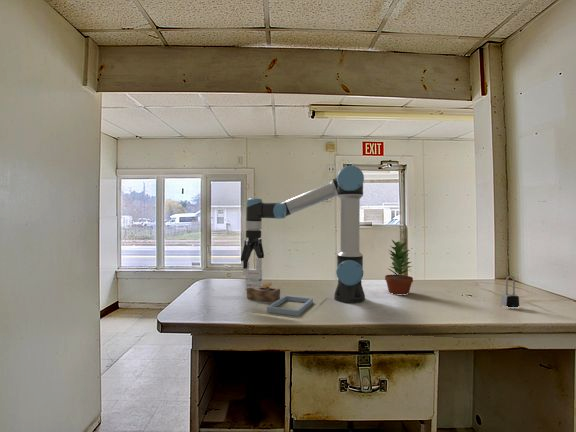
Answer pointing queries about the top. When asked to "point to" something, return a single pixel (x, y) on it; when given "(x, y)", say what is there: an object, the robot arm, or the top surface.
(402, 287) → the potted plant
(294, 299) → the tray
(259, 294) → the brown wooden forked piece
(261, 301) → the lid
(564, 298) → the top surface
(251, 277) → the ink box
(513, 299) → the padlock
